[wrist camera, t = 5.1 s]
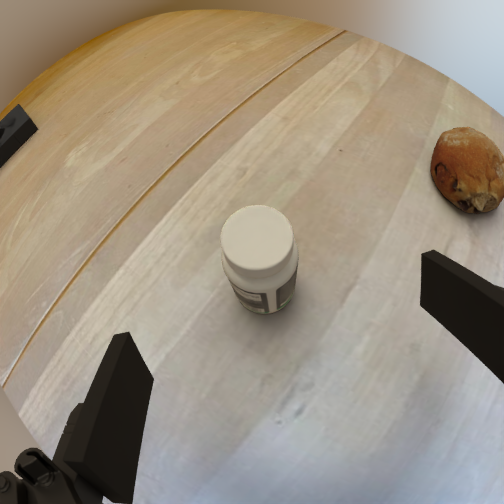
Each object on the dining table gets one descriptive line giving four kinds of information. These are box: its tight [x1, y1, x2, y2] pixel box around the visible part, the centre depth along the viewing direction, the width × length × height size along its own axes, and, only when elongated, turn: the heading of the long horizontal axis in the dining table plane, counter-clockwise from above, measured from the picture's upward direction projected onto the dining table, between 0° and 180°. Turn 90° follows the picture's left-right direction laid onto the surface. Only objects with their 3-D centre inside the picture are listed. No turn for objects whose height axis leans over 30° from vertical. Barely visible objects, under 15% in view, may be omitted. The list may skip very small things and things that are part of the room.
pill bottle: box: [220, 205, 299, 314], centre depth 20 cm, size 5×5×8 cm
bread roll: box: [430, 127, 504, 214], centre depth 25 cm, size 10×10×8 cm
